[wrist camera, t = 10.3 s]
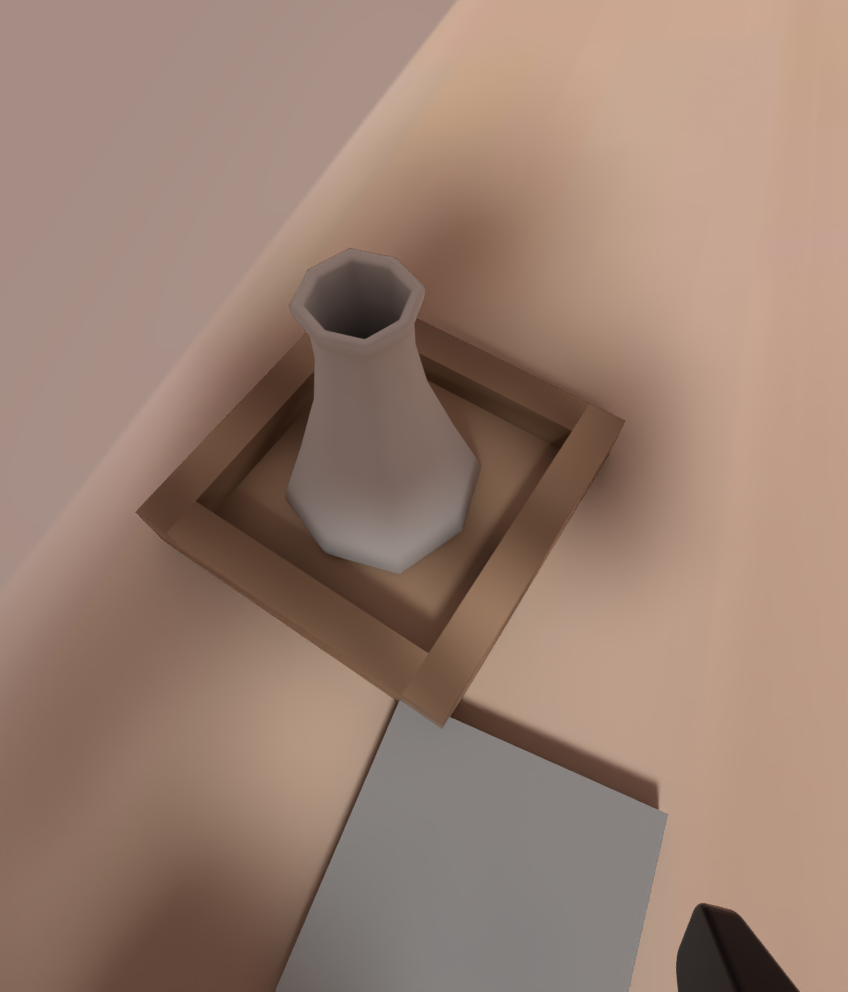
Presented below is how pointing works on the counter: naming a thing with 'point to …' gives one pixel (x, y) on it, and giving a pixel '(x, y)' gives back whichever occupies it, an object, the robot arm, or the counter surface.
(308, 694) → the counter surface
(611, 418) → the tray
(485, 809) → the slate coaster
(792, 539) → the counter surface
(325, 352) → the flask
